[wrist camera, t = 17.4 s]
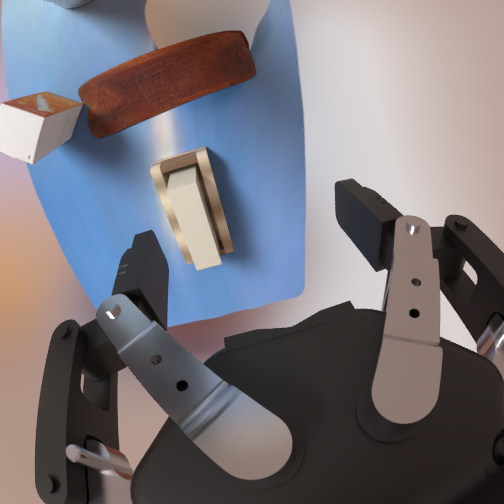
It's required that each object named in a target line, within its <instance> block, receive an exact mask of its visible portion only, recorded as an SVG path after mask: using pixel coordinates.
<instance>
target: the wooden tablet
mask: <svg viewBox="0 0 504 504" xmlns="http://www.w3.org/2000/svg"><path fill="white" fill-rule="evenodd" d="M255 74H256V71H255V65H254V62H253V59H252V56H251V53H250V52H249V43H248V40H247V38H246V36H245V35H244V33H243V32H242V31H239V30H231V31H222V32H217V33H212V34H207V35H204V36H200V37H197V38H194V39H190V40H187V41H183V42H180V43H177V44H174V45H171V46H168V47H165V48H162V49H158V50H156V51H153V52H150V53H147V54H145V55H142V56H139V57H137V58H134V59H132V60H129V61H127V62H125V63H123V64H120V65H118V66H116V67H114V68H112V69H110V70H108V71H106V72H104V73H102V74H100V75H98V76H96V77H94V78H92V79H90V80H89V81H87V82H86V83H84V84H83V85H82V86H81V87H80V88H79V91H78V94H79V96H80V98H81V100H82V102H83V103H84V104H85V105H87V106H88V107H89V108H90V109H89V112H88V122H89V126H90V129H91V132H92V134H93V135H94V136H95V137H96V138H102V137H104V136H107V135H109V134H112V133H115V132H118V131H120V130H122V129H124V128H127V127H129V126H132V125H134V124H136V123H139V122H141V121H143V120H145V119H148V118H150V117H153V116H155V115H157V114H160V113H162V112H164V111H167V110H169V109H171V108H174V107H176V106H178V105H181V104H184V103H186V102H189V101H191V100H194V99H196V98H199V97H202V96H204V95H207V94H210V93H213V92H215V91H218V90H221V89H224V88H227V87H228V86H233V85H235V84H238V83H241V82H243V81H246V80H248V79H250V78H252V77H253V76H255Z"/></svg>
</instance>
